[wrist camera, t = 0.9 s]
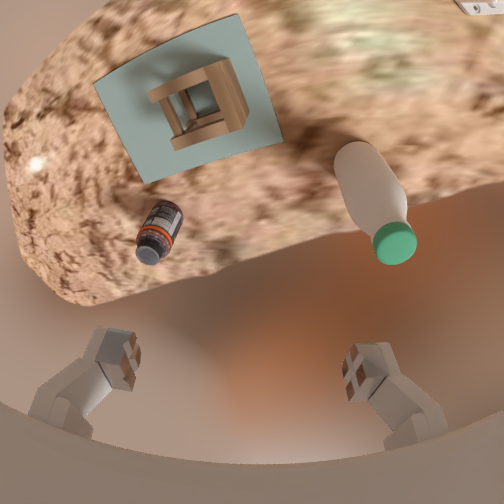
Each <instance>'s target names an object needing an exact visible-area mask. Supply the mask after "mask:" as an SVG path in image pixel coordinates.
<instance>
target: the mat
mask: <svg viewBox="0 0 504 504" xmlns="http://www.w3.org/2000/svg"><path fill="white" fill-rule="evenodd" d="M227 58H230V61H231V63H232V66H233V68H234V71H235V73H236V76H237V78H238V81H239V84H240V86H241V89H242V92H243V94H244V97H245V100H246V102H247V105H248V108H249V110H250V112H249V115H248V117H247V120H246V122H245V124H244V127H243V129H240V130H237V131H234V132H230V133H227V134H224V135H221V136H218V137H215V138H212V139H209V140H206V141H203V142H200V143H197V144H194V145H191V146H188V147H186V148H183V149H180V150H177V151H175V150H174V148H173V146H172V144H171V142H170V139H171V138H172V137H173V136H174V134H173V132H172V129H171V127H170V125H169V123H168V121H167V119H166V116H165V114H164V112H163V110H162V108H161V106H160V104H159V101H156V102H154V103H152V102H151V100H150V98H149V95H148V93H147V92H148V91H150V90H152V89H154V88H156V87H158V86H160V85H162V84H165V83H167V82H169V81H171V80H173V79H176V78H178V77H180V76H183V75H185V74H187V73H190V72H192V71H195V70H197V69H200V68H202V67H205V66H208V65H210V64H213V63H216V62H219V61H221V60H224V59H227ZM94 86H95V88H96V90H97V93H98V95H99V97H100V99H101V101H102V103H103V105H104V107H105V109H106V111H107V113H108V115H109V117H110V119H111V121H112V123H113V125H114V127H115V129H116V131H117V133H118V135H119V137H120V139H121V141H122V143H123V145H124V146H125V148H126V150H127V152H128V154H129V156H130V158H131V160H132V162H133V163H134V165H135V167H136V169H137V171H138V173H139V174H140V176H141V178H142V180H143V182H144V184H145V185H146V184H148V183H151V182H154V181H156V180H159V179H162V178H165V177H168V176H170V175H173V174H176V173H179V172H182V171H185V170H188V169H191V168H194V167H197V166H200V165H203V164H206V163H210V162H213V161H216V160H219V159H223V158H226V157H229V156H233V155H236V154H240V153H243V152H247V151H251V150H254V149H258V148H262V147H266V146H270V145H274V144H278V143H282V142H284V140H283V136H282V133H281V130H280V127H279V124H278V121H277V118H276V115H275V112H274V109H273V106H272V103H271V100H270V97H269V94H268V91H267V88H266V85H265V83H264V80H263V77H262V74H261V71H260V69H259V66H258V63H257V60H256V58H255V55H254V52H253V50H252V47H251V45H250V42H249V39H248V37H247V34H246V32H245V29H244V27H243V24H242V22H241V19H240V17H239V14H236V15H233V16H230V17H227V18H224V19H221V20H218V21H216V22H213V23H210V24H208V25H205V26H202V27H200V28H197V29H195V30H193V31H190V32H188V33H185V34H183V35H181V36H179V37H176V38H174V39H172V40H170V41H168V42H166V43H164V44H162V45H160V46H158V47H156V48H154V49H152V50H150V51H148V52H146V53H144V54H142V55H140V56H138V57H137V58H135V59H133V60H131V61H129V62H128V63H126V64H124V65H123V66H121V67H119V68H118V69H116V70H114V71H113V72H111V73H109V74H108V75H106V76H105V77H103V78H102V79H100V80H99V81H97V82H96V83H94ZM186 89H187V91H188V94H189V96H190V98H191V101H192V103H193V105H194V107H195V110H196V112H197V114H198V117H200V116H203V115H206V114H209V113H211V112H214V111H217V110H220V108H219V105H218V103H217V101H216V98H215V96H214V93H213V91H212V88H211V86H210V83H209V81H208V80H206V81H204V82H201V83H198V84H196V85H193V86H191V87H188V88H186ZM169 98H170V100H171V103H172V105H173V107H174V109H175V111H176V114H177V116H178V118H179V120H180V122H181V125H182V127H183V129H184V131H185V130H186V129H187V126H186V123H187V122H188V121H190V119H189V117H188V114H187V112H186V110H185V108H184V105H183V103H182V101H181V99H180V96H179V94H178V92H176V93H174V94H172V95H169Z"/></svg>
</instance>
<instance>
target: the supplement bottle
mask: <svg viewBox="0 0 504 504" xmlns="http://www.w3.org/2000/svg"><path fill="white" fill-rule="evenodd" d="M182 222H183V214H182V211H181V210H180V208H179V207H178V206H177V205H175V204H173V203H171V202H160V203H158V204H157V205H155V206H154V208H153V209H152V211H151V213H150V214H149V216H148V218H147V219H146V221H145V223H144V224H143V226H142V228H141V229H140V231H139V233H138V235H137V238H136V244H137V246H138V247H137V249H136V256H137V258H138V259H139V260H140V261H141V262H142V263H144V264H146V265H156V264H157V263H158V262H159V260H160V258H164V257H165V256H167V255H168V254H169V252H170V250H171V248H172V245H173V243H174V241H175V238H176V236H177V234H178V231H179V229H180V227H181V225H182Z"/></svg>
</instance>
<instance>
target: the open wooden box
mask: <svg viewBox="0 0 504 504" xmlns="http://www.w3.org/2000/svg"><path fill="white" fill-rule="evenodd" d="M206 80H208V81H209V83H210V86H211V88H212V91H213V93H214V96H215V98H216V101H217V103H218V105H219V108H220V110H217V111H214V112H211V113H209V114H206V115H203V116H200V117H198V114H197V112H196V110H195V107H194V105H193V103H192V101H191V98H190V96H189V94H188V91H187V89H186V88H188V87H191V86H193V85H196V84H198V83H201V82H204V81H206ZM176 92H178V94H179V96H180V99H181V101H182V103H183V105H184V108H185V110H186V112H187V114H188V117H189V119H190V121H188V122H187V123H186V126H187V129H186V130H185V131H184V129H183V127H182V125H181V122H180V120H179V118H178V116H177V114H176V111H175V109H174V107H173V105H172V103H171V100H170V98H169V95H172V94H174V93H176ZM147 93H148V95H149V98H150V100H151V102H152V103H154V102H156V101H159V104H160V106H161V108H162V110H163V112H164V114H165V116H166V119H167V121H168V123H169V125H170V127H171V129H172V132H173V134H174V136H173V137H172V138H171V139H170V142H171V144H172V146H173V148H174V150H175V151H177V150H180V149H183V148H186V147H188V146H191V145H194V144H197V143H200V142H203V141H206V140H209V139H212V138H215V137H218V136H221V135H224V134H227V133H230V132H234V131H237V130H240V129H243V127H244V124H245V122H246V120H247V117H248V115H249V112H250V110H249V108H248V105H247V102H246V100H245V97H244V94H243V92H242V89H241V86H240V84H239V81H238V78H237V76H236V73H235V71H234V68H233V66H232V63H231V61H230V58H227V59H224V60H221V61H219V62H216V63H213V64H210V65H208V66H205V67H202V68H200V69H197V70H195V71H192V72H190V73H187V74H185V75H183V76H180V77H178V78H176V79H173V80H171V81H169V82H167V83H165V84H162V85H160V86H158V87H156V88H154V89H152V90H150V91H148V92H147Z"/></svg>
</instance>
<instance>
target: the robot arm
mask: <svg viewBox="0 0 504 504" xmlns="http://www.w3.org/2000/svg"><path fill="white" fill-rule="evenodd" d="M455 1H456V3H457V4H458V5H459V7H460V8H461V9H462V10H463V11H464V12H465V13H466V14H467V15H469V16H475V15H488V14H504V0H455ZM474 7H475V9H474ZM136 339H137V337H136V334H135V332H129V331H124V330H118V329H113V328H108V327H103V326H98V327H97V328H96V329H95V331H94V333H93V335H92V337H91V340H90V342H89V344H88V346H87V348H86V351H85V353H84V355H83V358H78V359H77V360H75V361H74V362H73V363H71V364H70V365H69V366H67V367H66V368H65V369H63V370H62V371H60V372H59V373H58V374H56V375H55V376H54V377H52V378H51V379H50V380H48V381H47V382H46V383H44V384H43V385H42V386H41V387H39V388H38V390H37V392H36V395H35V397H34V400H33V402H32V405H31V407H30V410H29V413H28V415H26V414H24V413H22V412H19V411H17V410H15V409H13V408H11V407H9V406H7V405H5V404H4V403H2V402H0V504H504V411H500V412H498V413H496V414H493V415H491V416H489V417H487V418H485V419H482V420H480V421H478V422H476V423H473V424H471V425H468V426H466V427H463V428H461V429H458V430H455V431H452V432H449V429H448V426H447V423H446V420H445V417H444V414H443V411H442V409H441V406H440V405H438V404H437V403H436V402H435V401H434V400H433V399H432V398H430V397H429V396H428V395H427V394H426V393H425V392H424V391H423V390H421V389H420V388H419V387H418V386H417V385H416V384H414V383H413V382H412V381H411V380H410V379H409V378H408V377H407V376H405V375H401V373H400V370H399V367H398V365H397V362H396V360H395V357H394V354H393V351H392V349H391V346H390V344H389V343H387V342H386V343H364V344H353V345H352V346H351V347H350V349H349V351H350V354H349V355H347V356H346V357H345V359H344V361H343V365H342V373H343V378H344V380H345V381H347V382H348V384H347V387H346V392H347V396H348V401H349V402H355V401H366V400H368V403H369V404H370V405H371V406H372V407H373V409H374V410H375V411H376V412H377V413H378V414H379V416H380V417H381V418H382V419H383V420H384V422H385V423H386V424H387V425H388V426H389V427H390V429H391V430H392V431H393V432H392V433H391V434H390V435H389V436H387V437H386V438H385V439H384V446H385V451H384V452H378V453H373V454H368V455H363V456H357V457H351V458H344V459H337V460H329V461H320V462H309V463H295V464H265V465H264V464H261V465H260V464H259V465H258V464H257V465H255V464H226V463H212V462H201V461H192V460H184V459H176V458H170V457H164V456H158V455H152V454H147V453H142V452H138V451H133V450H129V449H124V448H120V447H116V446H112V445H109V444H105V443H102V442H98V441H95V440H91V437H92V433H93V427H92V426H91V425H90V424H89V422H88V421H87V420H86V419H85V418H84V417H85V416H86V415H87V414H88V413H89V412H90V411H91V410H92V409H93V408H94V407H95V406H96V405H97V404H98V403H99V402H100V401H101V400H102V399H103V398H104V397H105V396H106V395H107V394H108V393H109V392H110V391H111V390H112V388H114V389H120V390H125V391H131V392H132V390H133V387H134V383H135V379H136V376H135V374H134V371H136V370H137V369H138V368H139V364H140V358H141V351H140V347H139V345H138V344H137V343H136Z"/></svg>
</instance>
